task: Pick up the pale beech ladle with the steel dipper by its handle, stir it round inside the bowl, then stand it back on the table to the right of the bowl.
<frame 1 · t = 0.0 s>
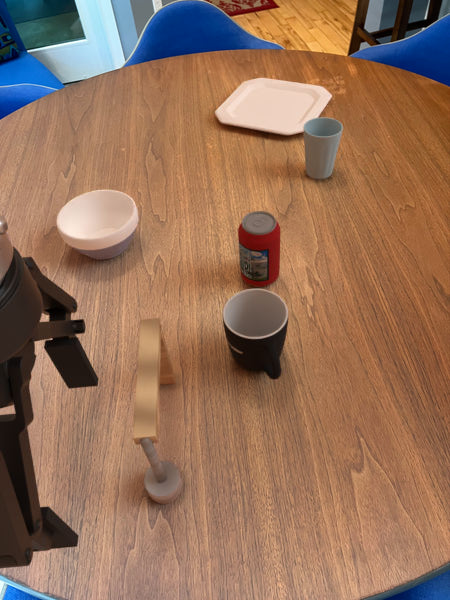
hand: (73, 454, 40), 22 cm above the table, tool pointing down, fingers open, 13 cm apart
mug: (260, 363, 71), on the table
cup: (318, 172, 102), on the table
plate: (273, 111, 121), on the table
bowl: (107, 245, 92), on the table
beverage can: (260, 276, 83), on the table
ladle: (165, 485, 60), on the table
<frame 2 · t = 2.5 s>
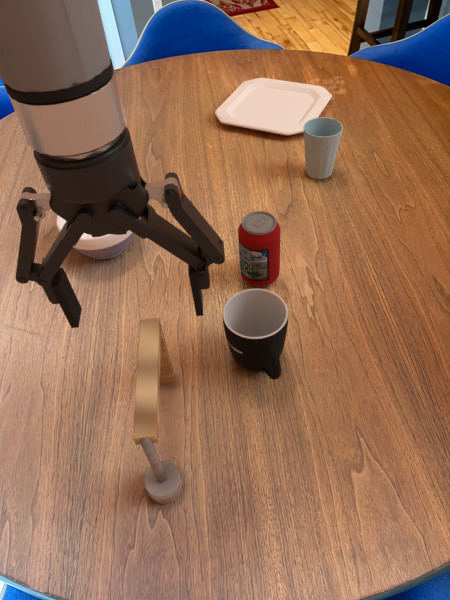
hand: (138, 312, 53), 20 cm above the table, tool pointing down, fingers open, 13 cm apart
nothing on the table moved.
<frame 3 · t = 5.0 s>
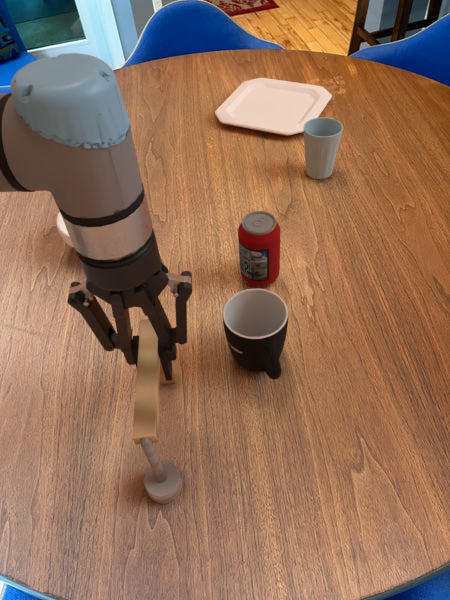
hand: (157, 372, 62), 8 cm above the table, tool pointing down, fingers closed on ladle, 2 cm apart
ladle: (165, 485, 60), on the table, touching gripper
everything else where it was.
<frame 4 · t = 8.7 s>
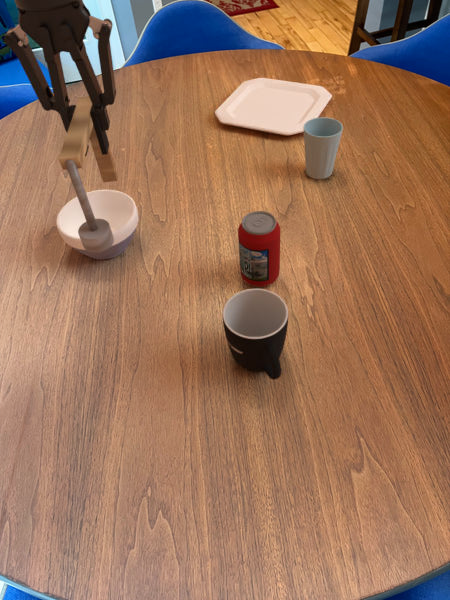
hand: (95, 150, 71), 23 cm above the table, tool pointing down, fingers closed on ladle, 2 cm apart
ladle: (98, 242, 69), point 15 cm above the table, touching gripper
everything else where it was.
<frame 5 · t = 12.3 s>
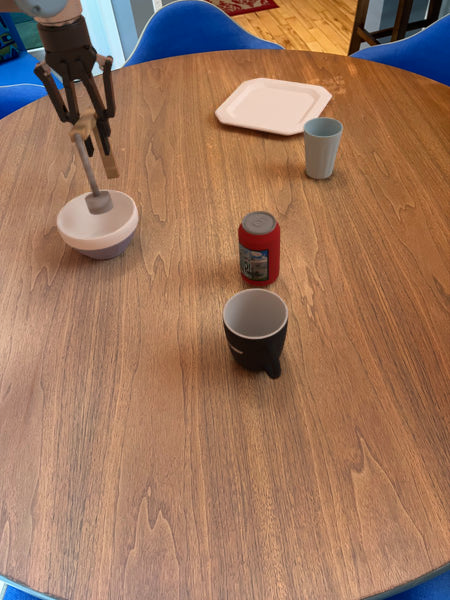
hand: (99, 152, 92), 11 cm above the table, tool pointing down, fingers closed on ladle, 2 cm apart
ladle: (101, 209, 85), point 8 cm above the table, tilted 14°, touching gripper
everything else where it was.
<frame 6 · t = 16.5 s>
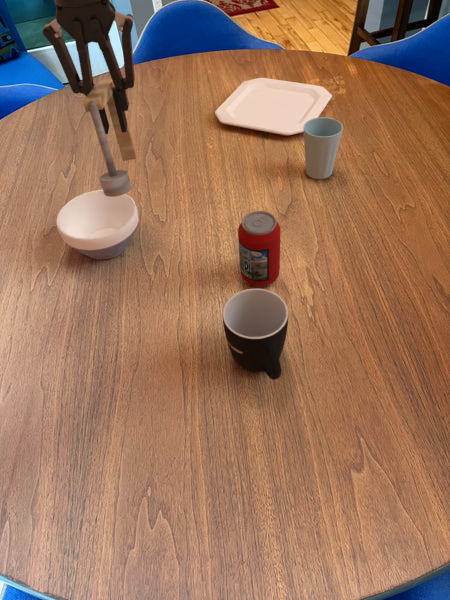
hand: (115, 129, 82), 19 cm above the table, tool pointing down, fingers closed on ladle, 2 cm apart
ladle: (118, 191, 75), point 16 cm above the table, tilted 14°, touching gripper
everything else where it was.
when the fingers open (7 cm above the table, at t = 19.9 s): ladle drops 4 cm, on the table.
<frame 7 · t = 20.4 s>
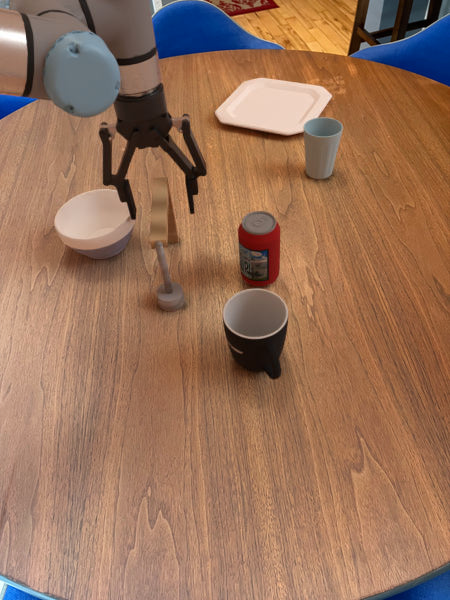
hand: (163, 212, 84), 8 cm above the table, tool pointing down, fingers open, 10 cm apart
bowl: (106, 245, 91), on the table, touching gripper
ladle: (171, 301, 81), on the table
everything else where it was.
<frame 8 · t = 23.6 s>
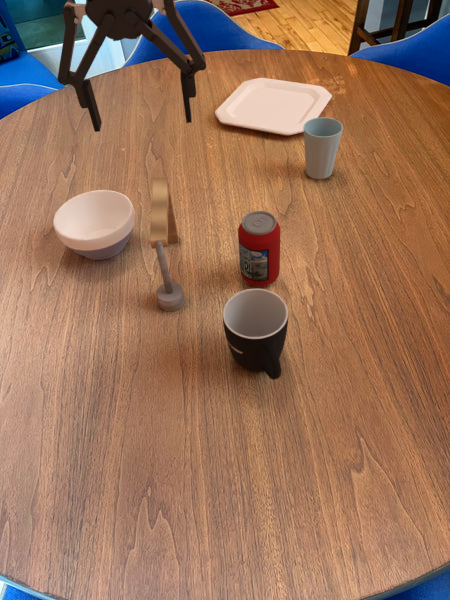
hand: (143, 122, 71), 25 cm above the table, tool pointing down, fingers open, 13 cm apart
bowl: (104, 245, 91), on the table
everything else where it was.
at the end: ladle inside the target area (2.2 cm from its centre), on the table; ladle tilted 0°; bowl moved 0.6 cm from its start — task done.
